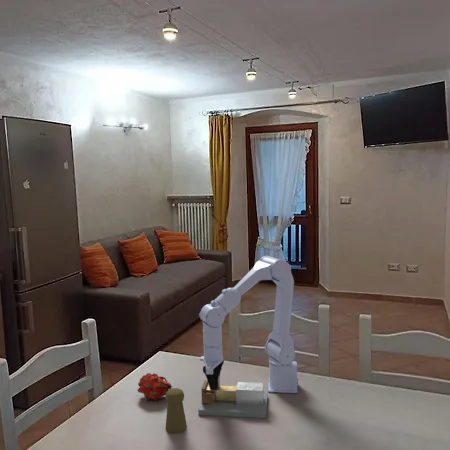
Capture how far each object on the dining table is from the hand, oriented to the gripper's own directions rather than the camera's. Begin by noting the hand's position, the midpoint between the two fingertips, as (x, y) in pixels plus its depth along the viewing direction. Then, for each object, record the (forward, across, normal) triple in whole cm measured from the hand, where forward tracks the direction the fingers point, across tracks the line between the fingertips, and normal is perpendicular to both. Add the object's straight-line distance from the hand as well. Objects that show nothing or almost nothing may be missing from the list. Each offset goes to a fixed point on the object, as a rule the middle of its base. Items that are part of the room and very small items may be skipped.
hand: (214, 386), depth 133 cm
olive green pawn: (+6, +13, -9) cm, 17 cm away
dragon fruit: (+6, -3, -20) cm, 21 cm away
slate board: (+6, 0, +6) cm, 8 cm away
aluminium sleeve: (+4, 0, +11) cm, 12 cm away
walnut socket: (+4, 0, -2) cm, 5 cm away
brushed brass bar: (+4, 0, +4) cm, 6 cm away
